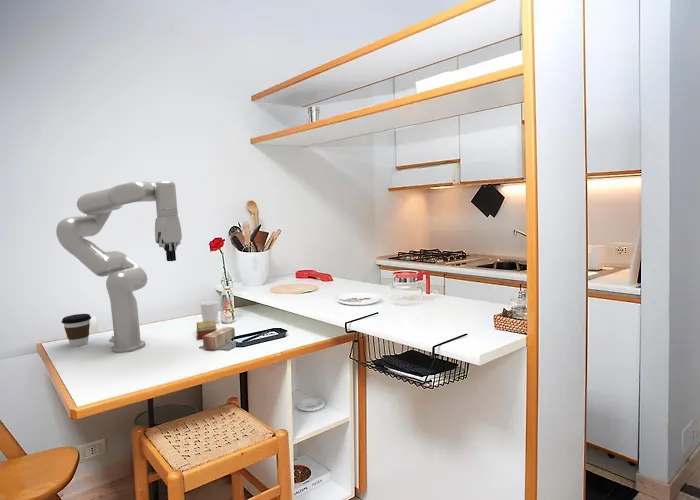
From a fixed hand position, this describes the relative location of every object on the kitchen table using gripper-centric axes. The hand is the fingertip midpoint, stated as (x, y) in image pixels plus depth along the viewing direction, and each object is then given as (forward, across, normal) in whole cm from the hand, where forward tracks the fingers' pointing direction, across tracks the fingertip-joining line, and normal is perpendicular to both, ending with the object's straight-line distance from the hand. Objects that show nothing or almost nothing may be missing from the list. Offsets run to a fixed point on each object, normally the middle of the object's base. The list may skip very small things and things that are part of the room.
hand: (171, 260), depth 184 cm
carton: (+36, -20, -2) cm, 41 cm away
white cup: (+35, -36, -12) cm, 52 cm away
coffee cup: (+35, +5, -48) cm, 60 cm away
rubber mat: (+35, -10, +15) cm, 39 cm away
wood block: (+32, 0, +14) cm, 35 cm away
